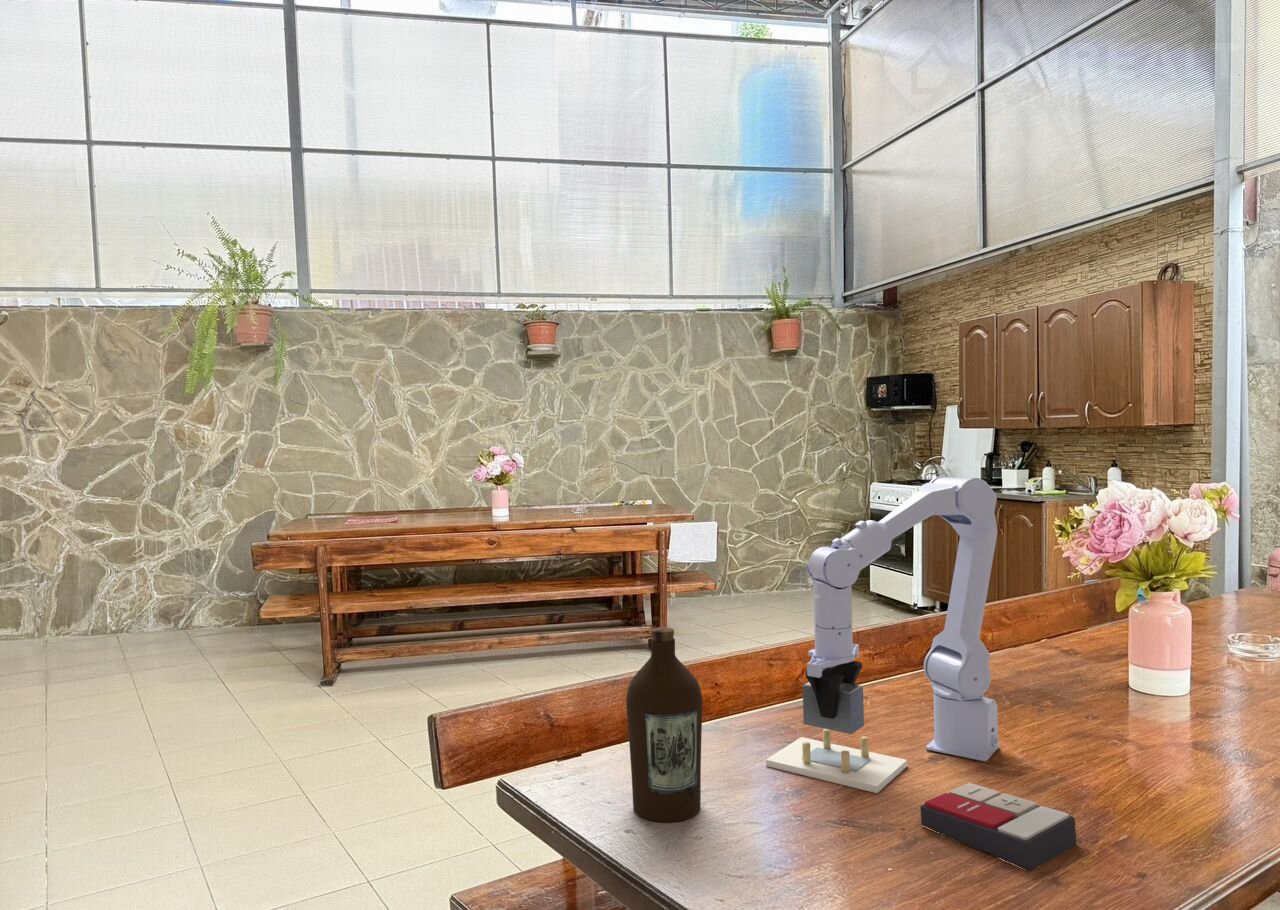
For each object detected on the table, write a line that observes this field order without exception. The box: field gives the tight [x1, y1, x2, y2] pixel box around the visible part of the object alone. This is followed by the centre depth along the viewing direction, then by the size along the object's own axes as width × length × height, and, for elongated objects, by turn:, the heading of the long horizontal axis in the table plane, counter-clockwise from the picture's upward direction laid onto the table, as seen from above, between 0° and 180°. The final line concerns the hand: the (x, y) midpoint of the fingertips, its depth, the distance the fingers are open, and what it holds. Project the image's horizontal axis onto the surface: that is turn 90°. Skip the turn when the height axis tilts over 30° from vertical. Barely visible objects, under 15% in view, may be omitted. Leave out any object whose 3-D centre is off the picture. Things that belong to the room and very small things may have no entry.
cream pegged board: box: [765, 728, 908, 794], centre depth 130 cm, size 18×12×4 cm, turn 52°
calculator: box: [920, 782, 1077, 872], centre depth 107 cm, size 11×4×15 cm
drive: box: [802, 681, 865, 735], centre depth 130 cm, size 8×4×6 cm, turn 51°
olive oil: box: [625, 626, 703, 823], centre depth 117 cm, size 11×11×25 cm
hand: (835, 712), depth 130 cm, fingers closed on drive, 5 cm apart
